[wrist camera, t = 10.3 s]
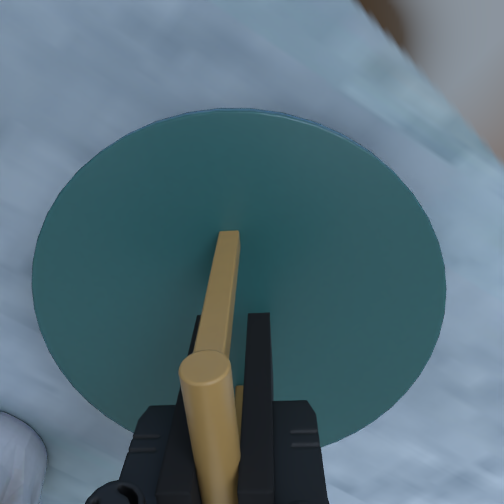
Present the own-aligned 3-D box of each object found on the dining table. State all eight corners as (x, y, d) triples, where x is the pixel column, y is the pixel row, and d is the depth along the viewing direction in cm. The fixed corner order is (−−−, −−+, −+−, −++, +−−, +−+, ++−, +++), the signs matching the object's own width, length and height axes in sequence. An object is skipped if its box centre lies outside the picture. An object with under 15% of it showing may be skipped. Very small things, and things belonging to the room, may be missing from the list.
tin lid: (94, 443, 22) (0, 674, 14) (-10, 119, 15) (-317, 218, 7) (414, 434, 21) (504, 673, 13) (463, 89, 14) (718, 161, 6)
